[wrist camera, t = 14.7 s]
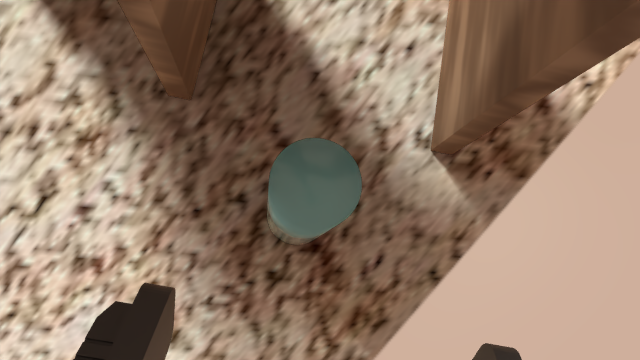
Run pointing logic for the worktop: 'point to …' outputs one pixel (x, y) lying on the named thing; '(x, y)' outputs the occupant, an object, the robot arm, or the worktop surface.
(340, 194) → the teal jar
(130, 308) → the robot arm
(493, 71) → the walnut shelf
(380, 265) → the worktop surface
